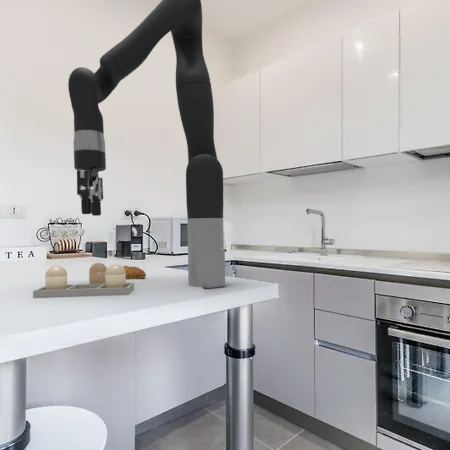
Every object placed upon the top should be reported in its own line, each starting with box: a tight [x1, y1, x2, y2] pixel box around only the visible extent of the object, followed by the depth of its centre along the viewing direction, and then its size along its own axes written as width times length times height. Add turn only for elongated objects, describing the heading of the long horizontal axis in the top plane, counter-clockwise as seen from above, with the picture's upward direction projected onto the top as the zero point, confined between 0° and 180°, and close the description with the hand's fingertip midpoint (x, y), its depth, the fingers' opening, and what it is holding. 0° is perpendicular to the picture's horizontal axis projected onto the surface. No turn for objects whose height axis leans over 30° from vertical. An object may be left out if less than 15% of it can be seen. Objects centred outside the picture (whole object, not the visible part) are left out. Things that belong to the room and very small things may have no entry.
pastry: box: [122, 265, 147, 281], centre depth 104 cm, size 9×7×4 cm
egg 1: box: [44, 265, 68, 290], centre depth 77 cm, size 4×4×6 cm
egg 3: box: [105, 263, 127, 288], centre depth 79 cm, size 4×4×6 cm
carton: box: [32, 282, 135, 299], centre depth 78 cm, size 20×7×2 cm, turn 95°
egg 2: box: [88, 262, 108, 284], centre depth 88 cm, size 4×4×6 cm
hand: (91, 214), depth 88 cm, fingers open, 8 cm apart
